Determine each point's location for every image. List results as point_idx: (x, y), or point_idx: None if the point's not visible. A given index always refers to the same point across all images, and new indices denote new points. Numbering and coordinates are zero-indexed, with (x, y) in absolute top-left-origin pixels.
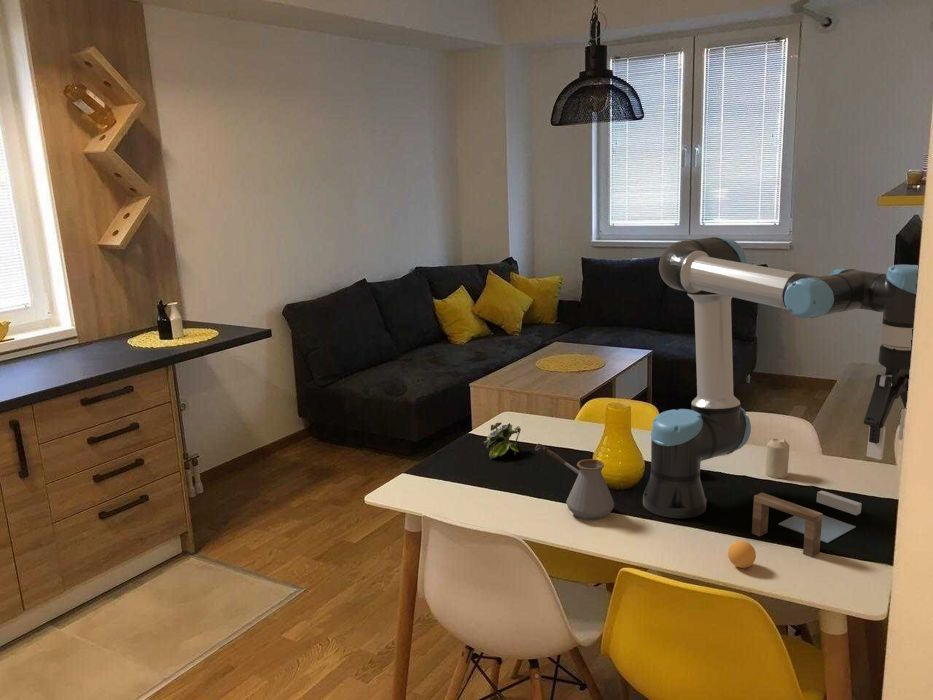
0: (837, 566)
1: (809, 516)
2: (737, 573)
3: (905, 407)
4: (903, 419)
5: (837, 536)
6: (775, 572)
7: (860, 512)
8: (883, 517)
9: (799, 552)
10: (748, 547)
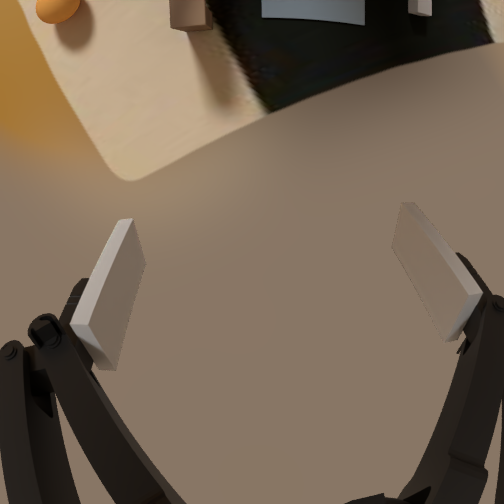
0: (193, 74)
1: (170, 16)
2: None
3: (484, 306)
4: (442, 270)
5: (300, 17)
6: (93, 39)
7: (421, 15)
8: (431, 50)
9: None
10: (47, 14)
